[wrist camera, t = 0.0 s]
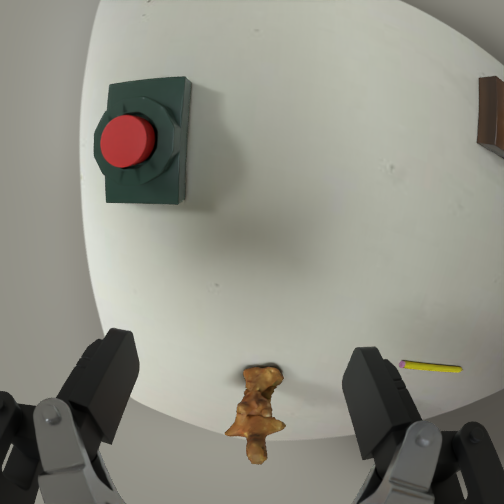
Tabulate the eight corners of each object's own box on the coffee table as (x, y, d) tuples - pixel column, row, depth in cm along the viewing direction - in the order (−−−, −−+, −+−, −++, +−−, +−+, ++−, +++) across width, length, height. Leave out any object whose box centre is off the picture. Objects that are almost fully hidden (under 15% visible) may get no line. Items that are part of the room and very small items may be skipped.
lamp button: (112, 118, 16) (101, 117, 15) (157, 115, 16) (148, 112, 15) (111, 165, 18) (99, 168, 16) (154, 164, 18) (145, 167, 16)
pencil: (398, 364, 30) (400, 369, 29) (402, 359, 30) (405, 364, 29) (460, 370, 32) (462, 373, 31) (463, 365, 32) (466, 369, 31)
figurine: (240, 354, 29) (236, 449, 18) (288, 365, 29) (300, 455, 18) (229, 379, 30) (221, 466, 19) (273, 388, 31) (278, 472, 20)
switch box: (120, 88, 18) (98, 80, 15) (191, 82, 18) (179, 70, 15) (117, 197, 22) (95, 208, 18) (185, 199, 22) (172, 210, 19)
